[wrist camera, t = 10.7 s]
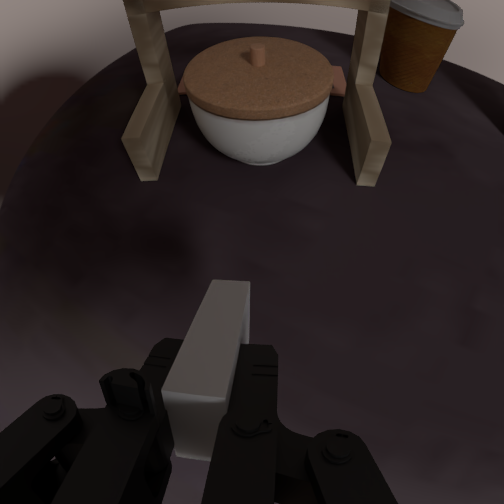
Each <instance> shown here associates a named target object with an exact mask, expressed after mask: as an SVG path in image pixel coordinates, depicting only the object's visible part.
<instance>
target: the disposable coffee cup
mask: <svg viewBox="0 0 504 504" xmlns="http://www.w3.org/2000/svg"><path fill="white" fill-rule="evenodd" d="M463 24H464V20H463V10H462V9H461V8H460V7H459V6H458V5H457V4H455V3H453V2H452V1H450V0H391V1H390V7H389V12H388V17H387V22H386V27H385V32H384V37H383V42H382V46H381V55H380V68H379V71H380V74H381V76H382V77H383V78H384V79H385V80H386V81H387V82H389V83H390V84H392V85H393V86H395V87H397V88H400V89H402V90H405V91H409V92H414V93H420V92H424V91H426V89H427V87H428V85H429V84H430V82H431V80H432V78H433V76H434V74H435V72H436V71H437V69H438V67H439V65H440V63H441V61H442V59H443V57H444V55H445V53H446V52H447V50H448V47H449V46H450V43H451V42H452V40H453V38H454V36H455V34H456V31H457V30H458V29H460V27H461V26H463Z"/></svg>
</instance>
